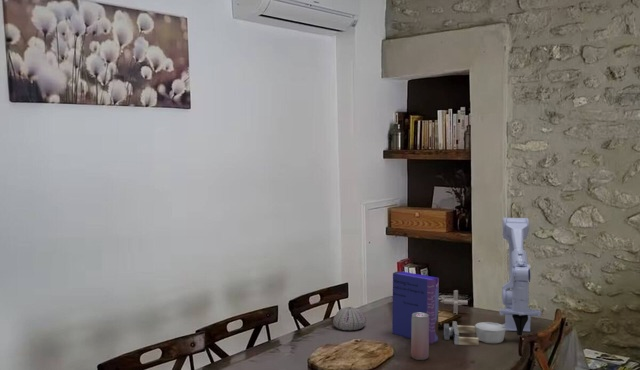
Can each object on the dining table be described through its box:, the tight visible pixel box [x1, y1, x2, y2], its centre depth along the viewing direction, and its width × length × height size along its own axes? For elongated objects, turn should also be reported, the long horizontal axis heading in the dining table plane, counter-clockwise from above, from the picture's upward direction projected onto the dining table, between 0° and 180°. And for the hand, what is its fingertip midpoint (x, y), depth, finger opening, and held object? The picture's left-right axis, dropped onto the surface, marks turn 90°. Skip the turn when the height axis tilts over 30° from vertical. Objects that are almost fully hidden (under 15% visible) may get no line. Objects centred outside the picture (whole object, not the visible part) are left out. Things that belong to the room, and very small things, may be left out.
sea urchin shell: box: [332, 306, 367, 331], centre depth 246 cm, size 13×14×8 cm
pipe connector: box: [443, 289, 468, 315], centre depth 265 cm, size 10×10×10 cm
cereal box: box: [391, 270, 440, 345], centre depth 232 cm, size 17×5×24 cm, turn 47°
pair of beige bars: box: [457, 324, 480, 347], centre depth 232 cm, size 7×16×2 cm, turn 171°
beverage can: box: [410, 312, 430, 361], centre depth 210 cm, size 6×6×15 cm
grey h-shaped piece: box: [443, 320, 460, 346], centre depth 232 cm, size 5×16×4 cm, turn 171°
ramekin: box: [474, 321, 507, 344], centre depth 230 cm, size 11×11×5 cm
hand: (519, 334), depth 228 cm, fingers closed
